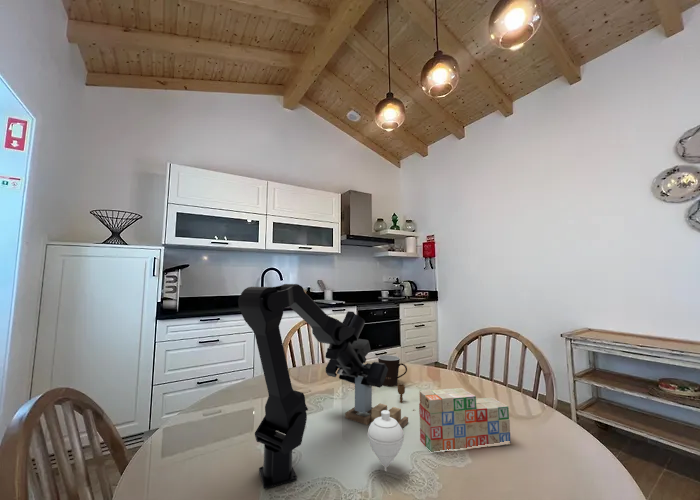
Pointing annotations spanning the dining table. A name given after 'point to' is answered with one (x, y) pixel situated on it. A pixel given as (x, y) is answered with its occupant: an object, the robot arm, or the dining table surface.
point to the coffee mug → (391, 369)
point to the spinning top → (385, 438)
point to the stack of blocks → (461, 420)
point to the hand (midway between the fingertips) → (365, 385)
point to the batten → (362, 396)
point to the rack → (368, 417)
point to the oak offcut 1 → (377, 411)
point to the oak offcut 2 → (395, 413)
